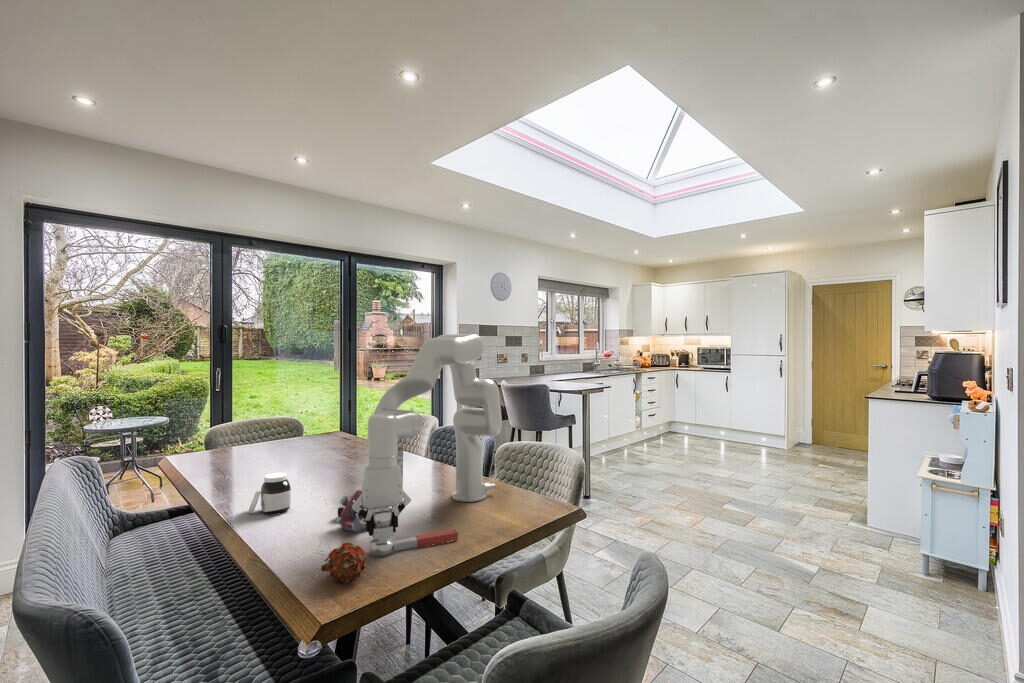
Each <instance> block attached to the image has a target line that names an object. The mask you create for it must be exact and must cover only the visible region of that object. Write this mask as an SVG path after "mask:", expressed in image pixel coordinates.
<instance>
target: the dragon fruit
mask: <svg viewBox="0 0 1024 683" xmlns="http://www.w3.org/2000/svg"><path fill="white" fill-rule="evenodd" d="M364 556H365V552H364V550H363V548H362V547H361V546H360V545H354V544H353V543H352V542H343V543H342V544H341V546H340V547H339V548H334V549H332V550H331V551H330V552H329V553H328V556H326V558H325V559H324V562H326V563H325V564H321V567H320V571H321V572H323V573H325V572H329V578H330V579H331V581H334V582H338V581H340V582H341V583H344V584H345V583H348V584H349V583H352V582H353V581H355V580H359V578H360V576H361V574H362V571H364V569H367V562H366V557H364Z"/></svg>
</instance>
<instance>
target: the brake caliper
mask: <svg viewBox="0 0 1024 683" xmlns="http://www.w3.org/2000/svg"><path fill="white" fill-rule="evenodd" d="M360 495H361V490H360V489H357V490H356V491H355V493H354V494H353V495H352V496H351V498H350V499H349V497H348V496H347V495H345V494H344V495H342V498H340V499H339V500H340V501H339V502H340V504H341V506H343V507H344V509H343V511H342V513H341V517H338V516H335V518H334V519H335V520H336V521H335V522H337V524H339V525H340V526H341V528H342V529H343V531H345V530H346V532H353V533H355V532H356V534H357V532H360V533H362V532H364V530H365V531H366V519H365V518H364V517H363V516H361V515H360V514H359V513H357V512H356V511H354V510H353V509H352V505H353V504H354V503H355V502H356V500H357V499H358V498H359V497H360ZM360 507H361V508H363V509H364V507H363V504H362V503H361V505H360ZM374 509H375V508H374ZM374 509H373V510H374ZM364 510H365V511H366V509H364ZM371 517H372V516H371Z"/></svg>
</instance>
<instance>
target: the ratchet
mask: <svg viewBox="0 0 1024 683" xmlns="http://www.w3.org/2000/svg"><path fill="white" fill-rule="evenodd" d="M458 538H459V533H458V531H457V530H456V528H453V529H446V530H441V531H434V532H430V533H429V532H428V533H424V534H423V533H422V534H417V535H415V536H413V537H407V538H403V539H395V538H394V537H393V536H390V537H384V538H378V539H372V540H371V541H370V542H369V554H370V556H371V557H373V558H378V559H379V558H387V557H389V556H391V555H392V553H393V552H394V551H395V552H400V551H399V550H401V551H405V550H404V549H406V550H410V549H409V548H411V549H415V548H414V547H417V548H418V547H420V548H423V547H422V546H426V547H428V546H427V545H431V546H433V545H432V544H437V543H442V542H447V541H451V540H458ZM458 541H459V540H458ZM447 543H448V542H447ZM442 544H443V543H442ZM437 545H438V544H437ZM395 552H394V553H395ZM394 553H393V554H394Z"/></svg>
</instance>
